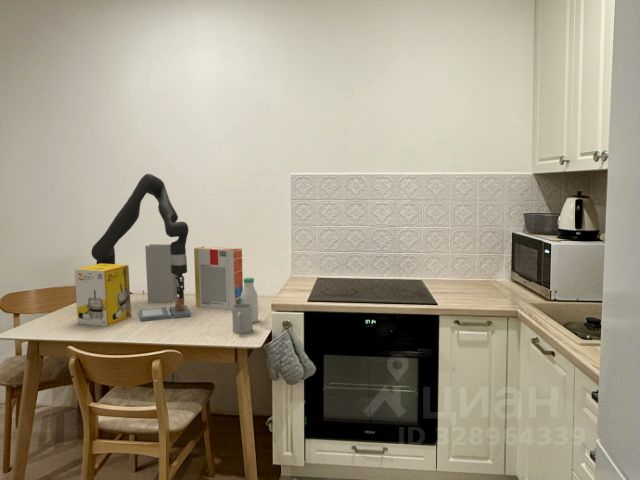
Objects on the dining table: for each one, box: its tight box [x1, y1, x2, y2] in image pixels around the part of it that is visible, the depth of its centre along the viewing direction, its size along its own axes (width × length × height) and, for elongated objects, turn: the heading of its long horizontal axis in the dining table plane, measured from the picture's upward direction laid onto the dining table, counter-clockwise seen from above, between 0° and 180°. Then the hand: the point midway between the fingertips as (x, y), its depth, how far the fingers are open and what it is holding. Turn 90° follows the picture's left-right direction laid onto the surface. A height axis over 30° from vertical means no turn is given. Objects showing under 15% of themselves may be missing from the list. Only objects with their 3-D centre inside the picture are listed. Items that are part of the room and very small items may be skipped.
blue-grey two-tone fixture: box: [169, 296, 192, 319], centre depth 250 cm, size 8×16×8 cm, turn 21°
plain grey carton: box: [145, 244, 178, 303], centre depth 274 cm, size 14×6×30 cm, turn 84°
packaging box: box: [74, 263, 132, 327], centre depth 238 cm, size 16×16×25 cm
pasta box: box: [193, 245, 244, 311], centre depth 262 cm, size 23×8×30 cm, turn 69°
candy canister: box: [241, 277, 259, 323], centre depth 235 cm, size 8×8×20 cm
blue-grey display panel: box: [138, 306, 173, 322], centre depth 246 cm, size 14×16×2 cm
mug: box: [231, 304, 254, 335], centre depth 220 cm, size 12×8×11 cm
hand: (180, 296), depth 250 cm, fingers open, 8 cm apart
